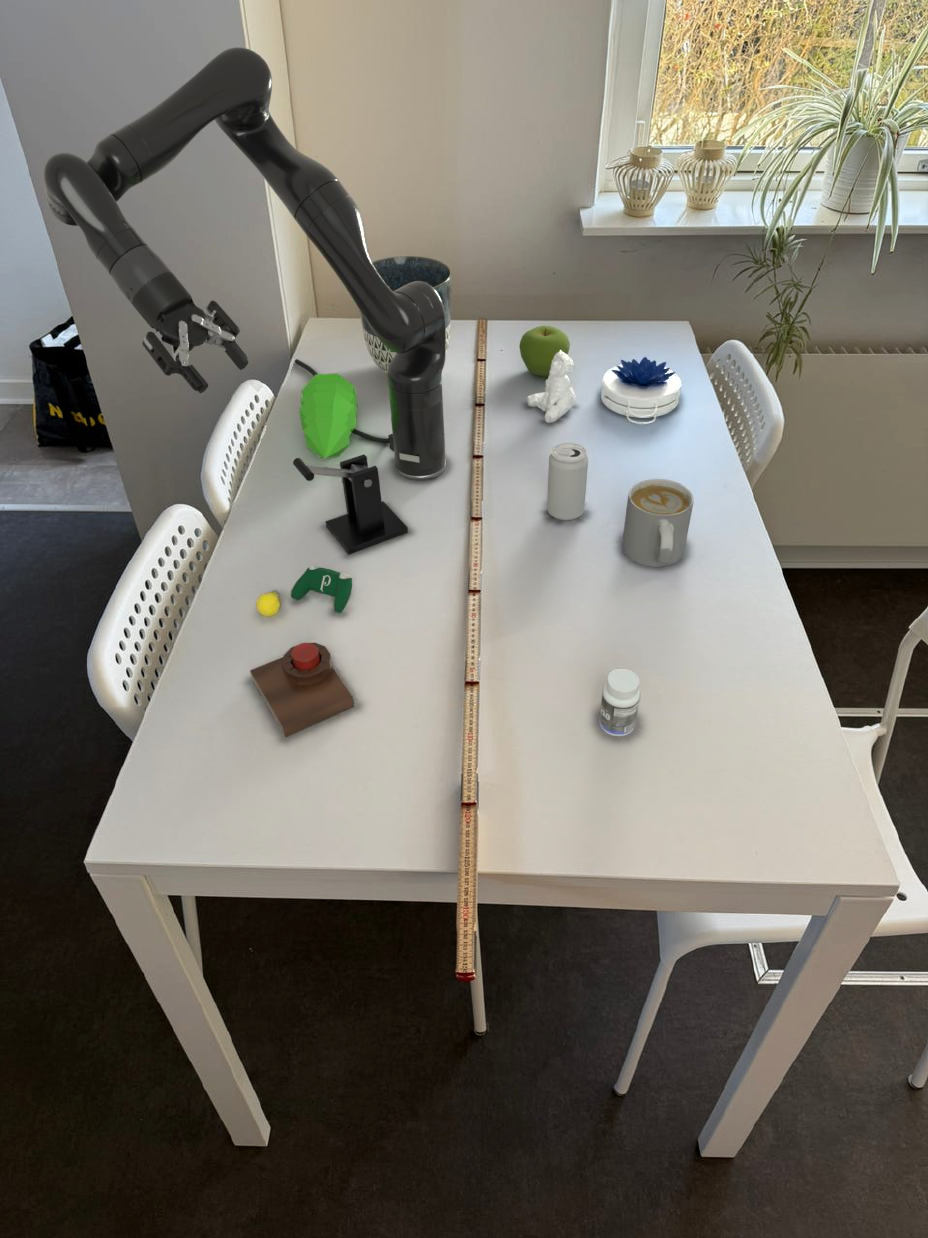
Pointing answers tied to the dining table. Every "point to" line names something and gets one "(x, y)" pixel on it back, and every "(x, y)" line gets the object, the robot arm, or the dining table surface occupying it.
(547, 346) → the apple
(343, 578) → the gaming controller
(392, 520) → the bracket
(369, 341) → the planter
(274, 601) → the light bulb
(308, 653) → the button
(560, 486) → the beverage can
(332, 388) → the green oblong ovoid
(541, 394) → the sitting furry creature
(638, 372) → the lotus flower trinket box
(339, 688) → the button block
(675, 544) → the coffee mug
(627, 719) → the pill bottle
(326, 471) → the lever
